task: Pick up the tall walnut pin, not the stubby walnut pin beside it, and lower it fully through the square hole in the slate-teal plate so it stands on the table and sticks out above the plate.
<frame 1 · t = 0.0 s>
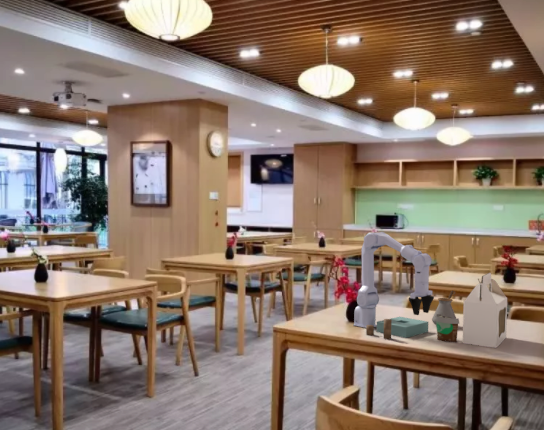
hand: (421, 313, 246), 10 cm above the table, fingers open, 7 cm apart
food container: (443, 340, 241), on the table
gable box: (484, 341, 242), on the table
coffee pot: (447, 324, 273), on the table
tall pin: (387, 338, 243), on the table
hole plate: (402, 331, 256), on the table
short pin: (369, 334, 249), on the table
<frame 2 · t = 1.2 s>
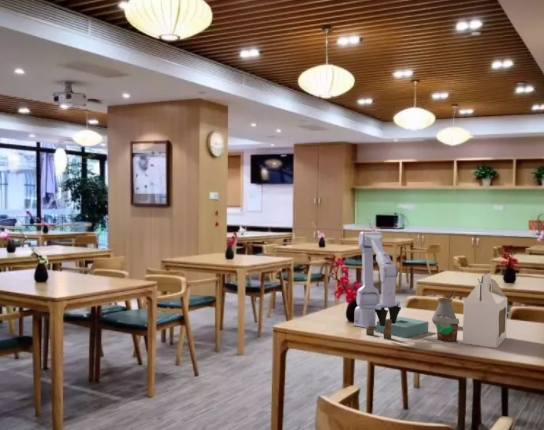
hand: (387, 324, 242), 6 cm above the table, fingers open, 7 cm apart
nothing on the table moved.
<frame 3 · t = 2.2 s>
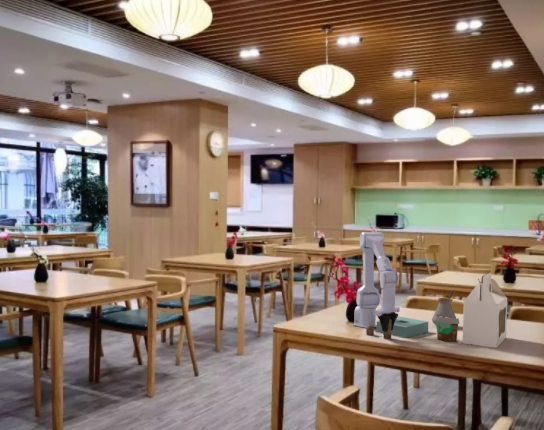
hand: (387, 330, 243), 3 cm above the table, fingers closed on tall pin, 3 cm apart
tall pin: (387, 338, 243), on the table, touching gripper
everything else where it was.
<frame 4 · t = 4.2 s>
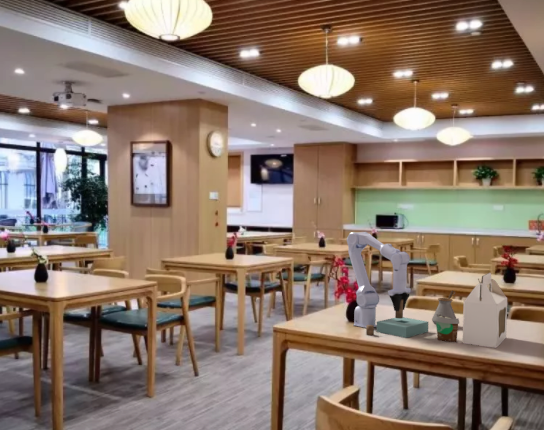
hand: (399, 310, 252), 10 cm above the table, fingers closed on tall pin, 3 cm apart
tall pin: (399, 317, 252), point 7 cm above the table, touching gripper
everything else where it was.
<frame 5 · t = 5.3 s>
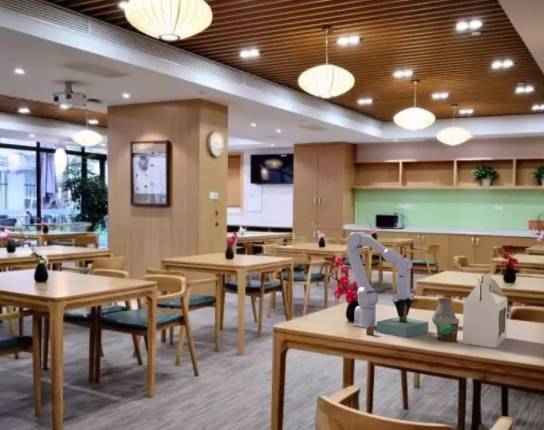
hand: (402, 316, 256), 7 cm above the table, fingers closed on tall pin, 3 cm apart
tall pin: (402, 323, 256), point 4 cm above the table, touching gripper
everything else where it was.
when the fingers open (5 cm above the table, at t = 6.1 s): tall pin drops 2 cm, resting in hole plate.
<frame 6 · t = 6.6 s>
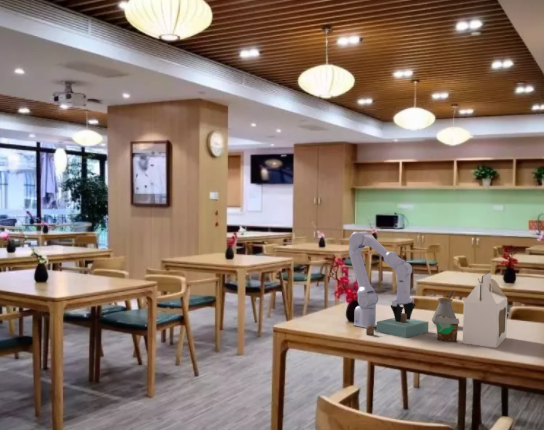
hand: (402, 320, 256), 5 cm above the table, fingers open, 7 cm apart
tall pin: (402, 331, 256), resting in hole plate
everything else where it was.
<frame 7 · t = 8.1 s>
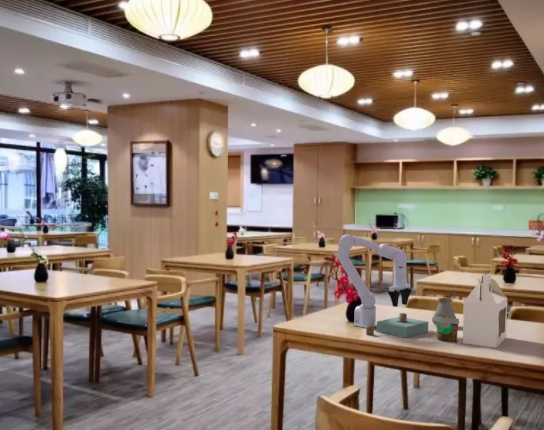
hand: (399, 305, 264), 10 cm above the table, fingers open, 7 cm apart
nothing on the table moved.
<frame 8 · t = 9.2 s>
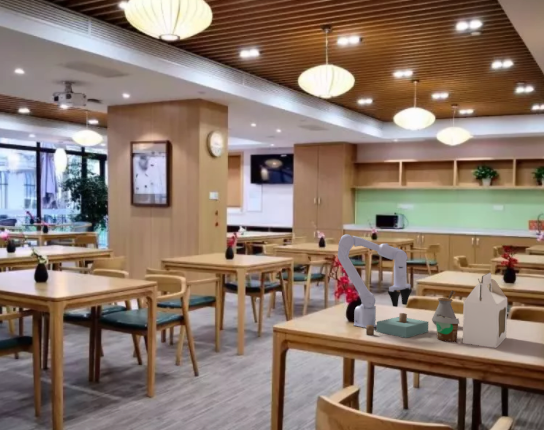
hand: (399, 305, 264), 10 cm above the table, fingers open, 7 cm apart
nothing on the table moved.
at the end: tall pin 0.1 cm off-centre on the hole plate, point 0.0 cm above the hole plate's base; tall pin tilted 0°; short pin moved 0.1 cm from its start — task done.
